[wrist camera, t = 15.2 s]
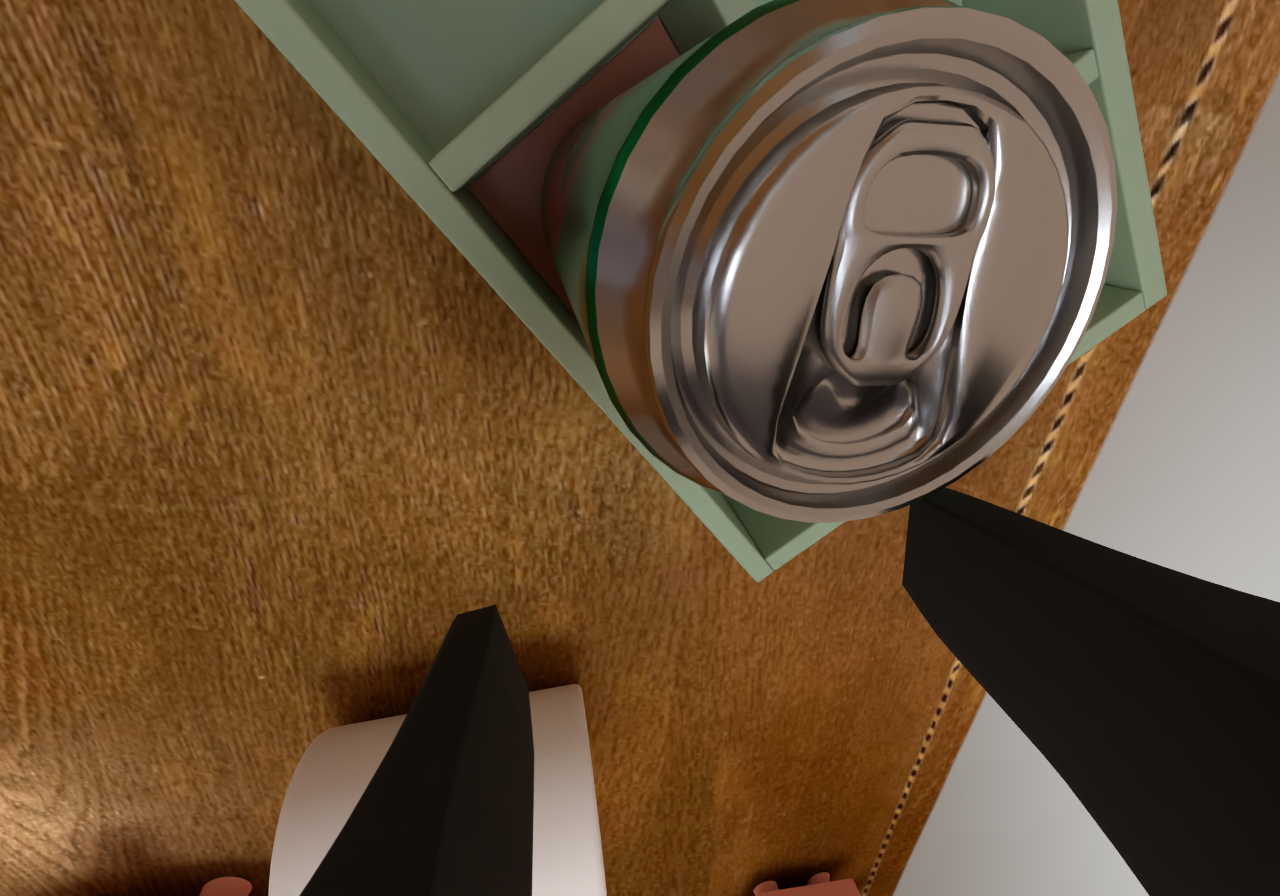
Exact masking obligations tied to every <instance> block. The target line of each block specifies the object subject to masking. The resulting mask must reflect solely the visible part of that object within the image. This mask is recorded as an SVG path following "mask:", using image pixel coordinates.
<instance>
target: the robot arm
mask: <svg viewBox="0 0 1280 896" xmlns="http://www.w3.org/2000/svg"><path fill="white" fill-rule="evenodd" d="M902 584H903V586H904V588H905V589H906V591H907V592H908V594H909V595H910V597H911V598H912V600H913V601H914V603H915V604H916V606H917V607H918V609H919V610H920V612H921V613H922V615H923V616H924V617H925V619H926V620H927V622H928V623H929V624H930V626H931V627H932V629H933V630H934V631H935V633H936V634H937V635H938V637H939V638H940V639H941V640H942V641H943V642H944V644H945V645H946V646H947V647H948V648H949V649H950V651H951V652H952V653H953V654H954V655H955V656H956V657H957V659H958V660H959V661H960V662H961V663H962V664H963V665H964V666H965V668H966V669H967V670H968V671H969V672H970V673H971V674H972V676H973V677H974V678H975V679H976V680H977V681H978V682H979V683H980V685H981V686H982V687H983V688H984V689H985V690H986V691H987V692H988V694H989V695H990V696H991V697H992V698H993V699H994V700H995V701H996V702H997V704H998V705H999V706H1000V707H1001V708H1002V709H1003V710H1004V711H1005V713H1006V714H1007V715H1008V716H1009V717H1010V718H1011V719H1012V720H1013V721H1014V722H1015V724H1016V725H1017V726H1018V727H1019V728H1020V729H1021V730H1022V731H1023V733H1024V734H1025V735H1026V736H1027V737H1028V738H1029V739H1030V741H1031V742H1032V743H1033V744H1034V745H1035V746H1036V747H1037V748H1038V749H1039V751H1040V752H1041V753H1042V754H1043V755H1044V756H1045V758H1046V759H1047V760H1048V761H1049V762H1050V764H1051V765H1052V766H1053V767H1054V768H1055V770H1056V771H1057V772H1058V773H1059V774H1060V776H1061V777H1062V778H1063V779H1064V780H1065V782H1066V783H1067V784H1068V786H1069V787H1070V788H1071V790H1072V791H1073V792H1074V793H1075V795H1076V796H1077V797H1078V799H1079V800H1080V801H1081V803H1082V804H1083V805H1084V807H1085V808H1086V809H1087V811H1088V812H1089V813H1090V815H1091V816H1092V817H1093V819H1094V820H1095V821H1096V823H1097V824H1098V825H1099V827H1100V828H1101V829H1102V831H1103V832H1104V833H1105V835H1106V836H1107V837H1108V839H1109V840H1110V841H1111V843H1112V844H1113V845H1114V847H1115V848H1116V849H1117V851H1118V852H1119V854H1120V855H1121V856H1122V858H1123V859H1124V860H1125V862H1126V863H1127V865H1128V866H1129V867H1130V869H1131V870H1132V871H1133V873H1134V874H1135V876H1136V877H1137V879H1138V880H1139V882H1140V883H1141V884H1142V886H1143V887H1144V888H1145V890H1146V891H1147V893H1148V894H1149V896H1280V602H1276V601H1272V600H1269V599H1266V598H1262V597H1258V596H1254V595H1251V594H1248V593H1244V592H1241V591H1237V590H1234V589H1231V588H1228V587H1224V586H1221V585H1218V584H1214V583H1211V582H1208V581H1205V580H1202V579H1199V578H1196V577H1193V576H1190V575H1187V574H1184V573H1181V572H1178V571H1175V570H1172V569H1169V568H1166V567H1163V566H1160V565H1157V564H1154V563H1151V562H1148V561H1145V560H1142V559H1139V558H1136V557H1133V556H1130V555H1128V554H1125V553H1122V552H1119V551H1116V550H1114V549H1111V548H1108V547H1105V546H1102V545H1100V544H1097V543H1094V542H1092V541H1089V540H1086V539H1083V538H1081V537H1078V536H1075V535H1073V534H1070V533H1067V532H1065V531H1062V530H1059V529H1057V528H1054V527H1052V526H1049V525H1046V524H1044V523H1041V522H1038V521H1036V520H1033V519H1031V518H1028V517H1025V516H1023V515H1020V514H1018V513H1015V512H1012V511H1010V510H1007V509H1004V508H1002V507H999V506H997V505H994V504H991V503H988V502H986V501H983V500H980V499H978V498H975V497H972V496H969V495H966V494H964V493H961V492H958V491H955V490H951V489H948V488H945V487H944V488H943V489H941V490H939V491H937V492H935V493H934V494H932V495H930V496H928V497H926V498H924V499H922V500H919V501H917V502H915V503H912V504H910V510H909V521H908V531H907V541H906V552H905V562H904V572H903V583H902ZM533 816H534V743H533V731H532V720H531V710H530V699H529V689H528V687H527V684H526V681H525V679H524V676H523V674H522V671H521V669H520V666H519V663H518V661H517V658H516V656H515V653H514V651H513V648H512V646H511V643H510V640H509V638H508V635H507V633H506V630H505V628H504V625H503V622H502V620H501V617H500V615H499V612H498V610H497V607H496V605H493V606H489V607H485V608H481V609H477V610H474V611H470V612H466V613H462V614H458V615H457V616H456V618H455V619H454V621H453V622H452V624H451V626H450V628H449V631H448V633H447V635H446V637H445V639H444V641H443V643H442V645H441V647H440V650H439V652H438V654H437V656H436V658H435V660H434V662H433V664H432V666H431V668H430V670H429V672H428V674H427V676H426V678H425V680H424V682H423V684H422V686H421V688H420V690H419V692H418V694H417V696H416V698H415V700H414V702H413V704H412V706H411V708H410V710H409V712H408V713H407V715H406V717H405V719H404V721H403V723H402V725H401V727H400V729H399V731H398V732H397V734H396V736H395V738H394V740H393V742H392V744H391V746H390V747H389V749H388V751H387V753H386V755H385V757H384V758H383V760H382V762H381V764H380V765H379V767H378V769H377V770H376V772H375V774H374V776H373V777H372V779H371V781H370V782H369V784H368V786H367V788H366V789H365V791H364V793H363V794H362V796H361V798H360V800H359V801H358V803H357V805H356V806H355V808H354V810H353V812H352V813H351V815H350V817H349V818H348V820H347V822H346V823H345V825H344V827H343V828H342V830H341V832H340V833H339V835H338V836H337V838H336V840H335V841H334V843H333V844H332V846H331V848H330V849H329V851H328V852H327V854H326V856H325V857H324V859H323V860H322V862H321V863H320V865H319V866H318V868H317V870H316V871H315V873H314V874H313V876H312V877H311V879H310V880H309V882H308V883H307V885H306V886H305V888H304V889H303V891H302V892H301V894H300V895H299V896H532V870H533Z"/></svg>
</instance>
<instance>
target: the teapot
mask: <svg viewBox="0 0 1280 896" xmlns="http://www.w3.org/2000/svg"><path fill="white" fill-rule="evenodd" d="M251 890H252V885H251V883H250V882H249V881H247V880H245V879H243V878H239V877H221V878H217V879H214V880H211V881H209V882H208V883H206V884H205V885H204V887H203V888H202V891H201V893H200V895H199V896H248V895H249V893H250V892H251Z"/></svg>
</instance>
